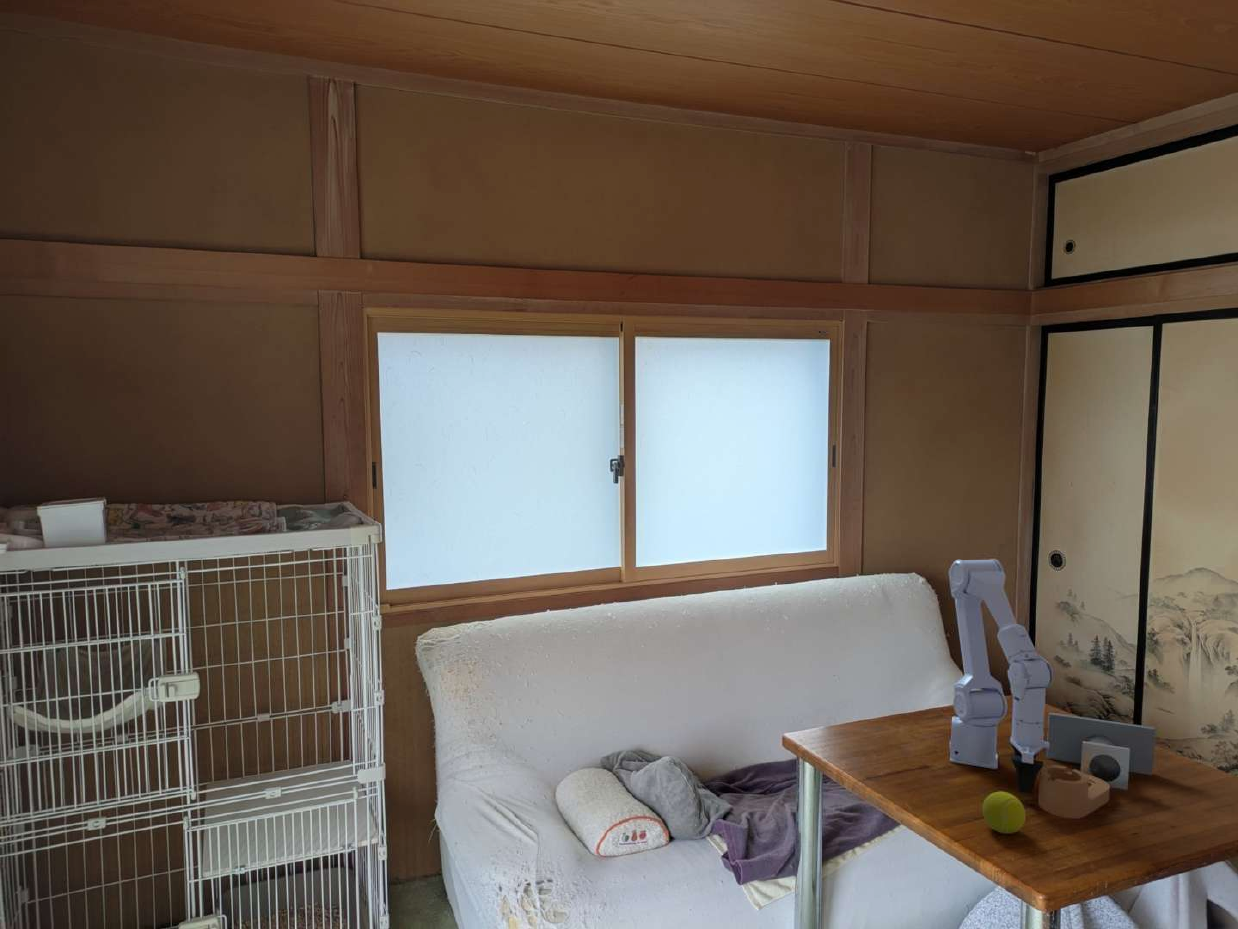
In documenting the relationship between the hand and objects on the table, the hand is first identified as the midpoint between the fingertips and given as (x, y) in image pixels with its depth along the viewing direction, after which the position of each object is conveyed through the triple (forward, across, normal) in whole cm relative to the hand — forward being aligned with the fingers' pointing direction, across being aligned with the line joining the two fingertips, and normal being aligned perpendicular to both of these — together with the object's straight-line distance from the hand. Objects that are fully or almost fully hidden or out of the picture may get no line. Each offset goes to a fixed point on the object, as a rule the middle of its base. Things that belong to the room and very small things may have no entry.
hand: (1024, 784), depth 170 cm
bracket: (+2, 0, -9) cm, 9 cm away
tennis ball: (+2, -19, +4) cm, 20 cm away
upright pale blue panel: (+2, +16, -15) cm, 22 cm away
